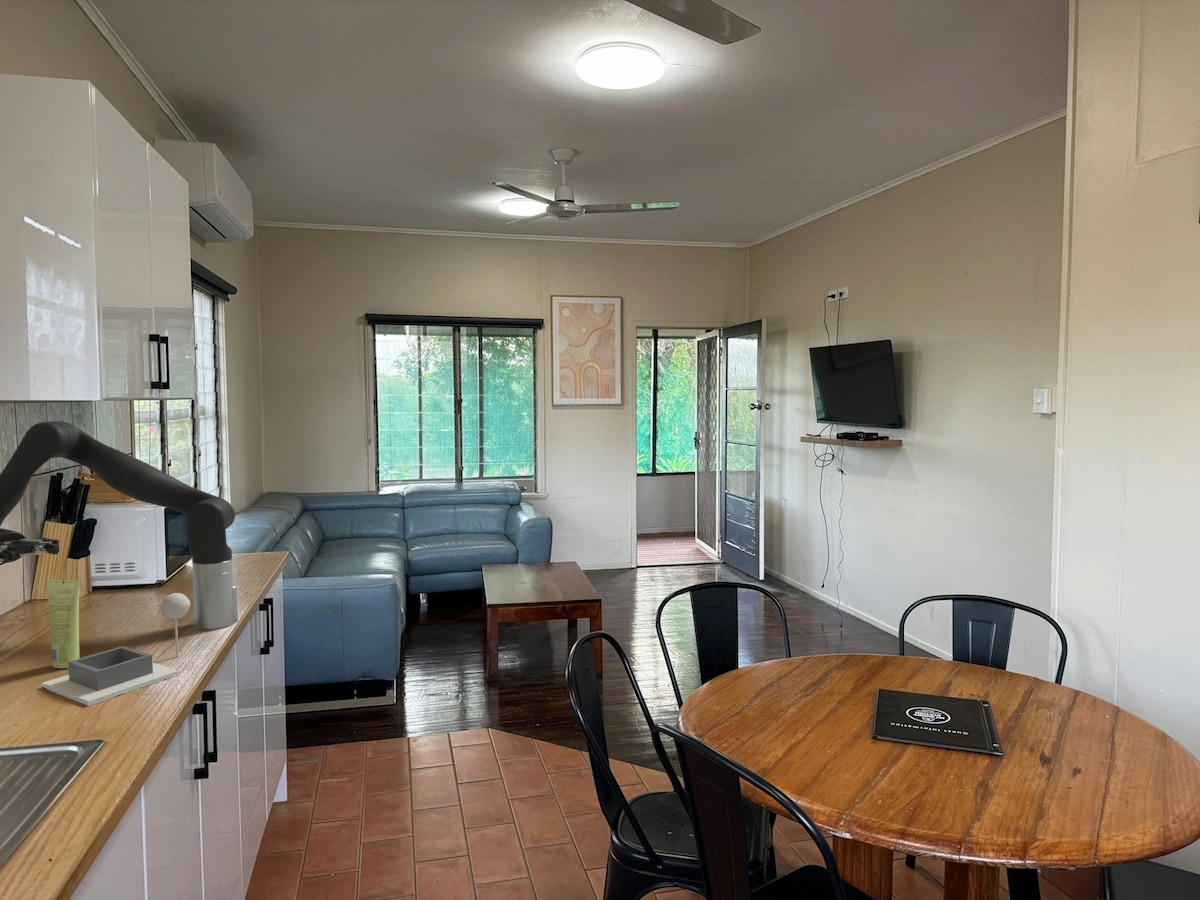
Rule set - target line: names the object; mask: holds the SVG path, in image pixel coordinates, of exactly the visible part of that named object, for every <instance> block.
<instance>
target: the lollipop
mask: <svg viewBox="0 0 1200 900" xmlns="http://www.w3.org/2000/svg"><path fill="white" fill-rule="evenodd" d="M190 607H191V601H190V599H189V598H188V597H187V596H186V595H185V594H183V593H181V592H180V593H179V592H174V593H171V594H168V595H166V596H165V597H164V598H163V599H162V600H161V603H160V604H159V609H160V611H161V614H162V615H163V617H165V618H167V619H170V620H174V632H175V633H174V634H175V639H174V640H175V657H176V656H179V638H178V637H179V636H178V619H180V618H183V617H184V616H185V615H187V614H188V611H189V610H190Z"/></svg>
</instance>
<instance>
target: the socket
mask: <svg viewBox="0 0 1200 900" xmlns="http://www.w3.org/2000/svg"><path fill="white" fill-rule="evenodd" d="M79 658H80V659H77V660H73V661H70V662H68V668H67V669H68V674H66V675H63V676H60V677H57V678H53V679H50V680H46V681H44V682H41V688H42V687H44V688H46V689H45V690H47V689H48V690H47V691H49V690H50V691H49V692H52V693H54V692H55V694H57V695H60V696H61V697H63V698H67V699H69V700H72V701H74V702H76V703H80V704H83V705H85V706H86V707H90V706H93V705H96V704H100V703H102V702H104V701H108V700H111V699H114V698H116V697H115V696H117V697H119V696H118V695H120V696H122V695H121V694H123V695H125V694H124V693H126V694H128V693H131V692H134V691H137V690H140V689H142V688H141V687H143V688H146V687H147V686H148V685H149V686H151V684H152V685H154V684H153V683H155V684H157V683H160V682H162V681H161V680H163V681H165V680H164V679H166V678H169V677H172V676H174V675H177V674H179V675H180V671H179V670H178V669H174V668H171V667H168V666H165V665H162V664H159V663H156V662H153V654H151V653H147V652H144V651H140V650H138V649H134V648H130V647H128V646H125V645H122V646H118V647H115V648H111V649H109V650H105V651H102V652H97V653H94V654H91V655H87V656H84V657H79ZM172 678H173V677H172ZM169 679H170V678H169ZM166 680H167V679H166ZM159 681H160V682H159ZM156 682H157V683H156ZM145 686H146V687H145ZM44 688H43V689H44ZM139 688H140V689H139ZM136 689H137V690H136ZM133 690H134V691H133ZM130 691H131V692H130ZM113 697H114V698H113Z"/></svg>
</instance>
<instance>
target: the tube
mask: <svg viewBox="0 0 1200 900" xmlns="http://www.w3.org/2000/svg"><path fill="white" fill-rule="evenodd" d="M80 584H81V583H80V580H65V579H63V580H62V579H46V587H47V589H46V590H47V598H48V608H49V625H50V640H51V659H52V668H54V669H58V668H59V669H69V668H68V662H70V661H73V660H77V659H80V658H81V657H80V610H79V609H80Z"/></svg>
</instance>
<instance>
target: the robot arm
mask: <svg viewBox="0 0 1200 900" xmlns="http://www.w3.org/2000/svg"><path fill="white" fill-rule="evenodd" d="M55 458H56V459H57V458H63V459H66V460H68V461H72V462H73V463H76V464H79V465H80V466H83V467H86V468H87V469H89V470H90V471H92V472H93V473H94V474H95V475H96V476H97V477H99V478H100V479H101V480H102V482H104V483H105V484H106V485H107V486H109V487H110V488H112V489H113V490H115V491H117V492H119V493H121V494H123V495H126V496H127V497H129V498H131V499H134V500H136V501H139V502H142V503H146V504H150V505H153V506H159V507H162V508H167V509H171V510H174V511H177V512H179V513H181V514H183V515H185V516H186V532H187V545H188V551H189V554H190V555H191V559H192V561H191V562H192V563H191V565H192V567H191V568H192V584H193V587H192V589H193V609H194V610H193V611H194V627H195V629H197V628H198V629H197V630H203V629H206V630H208V631H209V630H218V629H223V628H226V626H227V627H229V626H231V625H233V624H234V623H236V622H238V621H239V618H238V617H239V615H238V588H237V586H236V585H234V580H233V579H234V576H233V575H234V574H233V551H232V548H231V547H230V546H228V543H227V533H226V531H227V529H228V528H230V527H231V526H232V524H234V522H235V519H236V511H235V509H234V507H233V505H232V504H231V503H230V502H228V500H226V499H224V498H222V497H219V496H217V495H214V494H211V493H208V492H206V491H203V490H200V489H197V488H196V487H193V486H191V485H188V484H187V483H184V482H183V481H181V480H179V479H177V478H176V477H174V476H172V475H170V474H168V473H166V472H164V471H163V470H162V471H161V470H160V469H158V468H156V467H154V466H153V465H150V464H148V463H147V462H144V461H143V460H141V459H138V458H137V457H134V456H131V455H129V454H127V453H125V452H123V451H121V450H118V449H116V448H114V447H111V446H109V445H107V444H105V443H102V442H101V441H99V440H97V439H96V438H94V437H93V436H91V435H90V434H88V433H86V432H84V431H83V430H81V429H80V428H79V427H77V426H74V425H73V424H71V423H69V422H66V421H62V420H61V421H60V420H59V421H57V420H55V421H41V422H37V423H35V424H33V425H32V426H30V427H29V429H28V430H27V431H26V432H25V434H24V436H23V437H22V439H21V440H20V442H19V443H18V446H17V448H16V449H15V451H14V453H13V454H12V456H11V457H10V459H9V460H8V462H7V464H6V465H5V467H4V468H3V469H2V471H1V472H0V563H5V564H6V563H7V564H8V563H9V564H10V563H14V562H16V561H18V560H20V559H21V558H23V557H26V556H39V555H41V554H50V555H58V554H59V552H60V544H59V543H60V541H59V539H54V538H49V537H41V538H40V539H29V538H27V536H25V535H24V534H22V533H21V532H19V531H16V530H12V529H6V528H2V527H1V526H2V524H3V522H4V521H5V519H6V518H7V517H8V516H9V514H11V512H12V511H13V510H14V509H15V507H17V505H18V504H19V503H20V501H21V500H22V498H23V497H24V496H25V493H26V490H27V487H28V486H29V483H30V480H31V479H32V477H33V476H34V475H35V473H36V472H37V471H38V470H39V469H40V468H41V467H42V466H43V465H44V464H46V463H47V462H48V461H50V460H51V459H55Z"/></svg>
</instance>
